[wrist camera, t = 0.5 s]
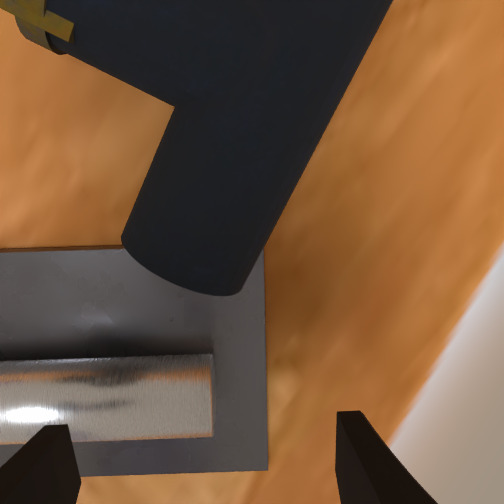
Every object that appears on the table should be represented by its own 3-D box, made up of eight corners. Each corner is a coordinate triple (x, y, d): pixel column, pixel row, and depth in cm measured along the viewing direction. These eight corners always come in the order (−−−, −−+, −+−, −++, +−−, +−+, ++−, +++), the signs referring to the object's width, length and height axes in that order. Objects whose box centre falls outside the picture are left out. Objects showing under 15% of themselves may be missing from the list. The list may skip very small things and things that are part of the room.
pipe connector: (-103, 168, 14) (56, -489, 10) (-13, 146, 19) (119, -292, 15) (243, 315, 16) (506, -177, 12) (242, 260, 21) (425, -97, 17)
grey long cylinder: (212, 337, 22) (207, 385, 19) (217, 401, 23) (212, 457, 20) (-168, 350, 22) (-245, 401, 19) (-143, 413, 23) (-210, 472, 20)
